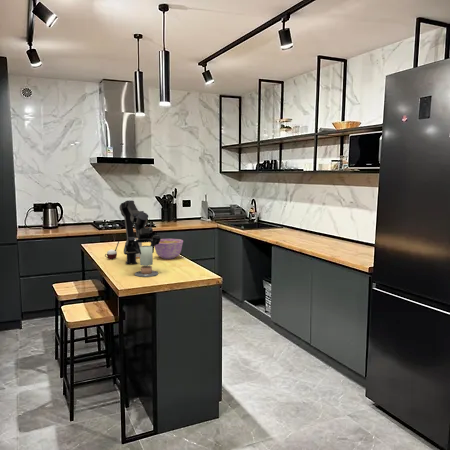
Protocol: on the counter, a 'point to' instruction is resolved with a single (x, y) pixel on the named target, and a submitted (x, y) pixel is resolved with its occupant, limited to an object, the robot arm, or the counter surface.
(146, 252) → the white cylinder
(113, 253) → the cocoa
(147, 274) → the cup on gray saucer
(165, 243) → the bowl of food
